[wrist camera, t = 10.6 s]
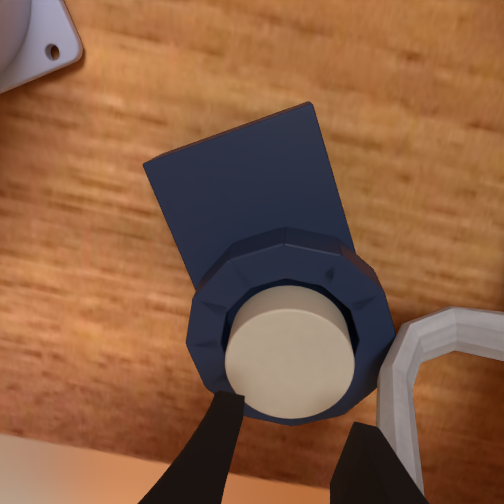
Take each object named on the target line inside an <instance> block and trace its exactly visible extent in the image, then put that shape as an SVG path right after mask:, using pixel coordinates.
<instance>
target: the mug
mask: <svg viewBox="0 0 504 504" xmlns="http://www.w3.org/2000/svg"><path fill="white" fill-rule="evenodd" d="M454 350H455V351H460V352H464V353H469V354H473V355H478V356H482V357H487V358H491V359H496V360H500V361H504V312H501V311H492V310H483V309H475V308H466V307H458V306H447V307H444V308H442V309H439V310H437V311H434V312H431V313H429V314H426V315H423V316H421V317H418V318H416V319H413V320H410V321H408V322H405V323H402V325H401V327H400V329H399V331H398V333H397V336H396V338H395V340H394V342H393V344H392V346H391V348H390V350H389V352H388V354H387V356H386V358H385V360H384V362H383V364H382V366H381V368H380V372H379V376H378V380H377V411H376V427H379V429H380V430H381V432H382V433H383V435H384V436H385V438H386V439H387V441H388V442H389V444H390V445H391V447H392V448H393V450H394V452H395V453H396V455H397V456H398V458H399V459H400V461H401V462H402V464H403V465H404V467H405V468H406V470H407V471H408V473H409V475H410V476H411V478H412V479H413V481H414V482H415V484H416V485H417V486H418V488H419V489H420V491H421V492H422V494H423V495H424V488H423V479H422V471H421V463H420V454H419V446H418V437H417V428H416V419H415V410H414V401H413V391H412V389H413V386H414V383H415V379H416V376H417V373H418V370H419V367H420V364H421V363H422V362H425V361H428V360H430V359H433V358H436V357H438V356H441V355H444V354H446V353H449V352H452V351H454ZM424 497H425V496H424Z"/></svg>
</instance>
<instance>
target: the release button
mask: <svg viewBox="0 0 504 504" xmlns="http://www.w3.org/2000/svg"><path fill="white" fill-rule="evenodd" d="M354 368H355V360H354V354H353V350H352V345H351V341H350V337H349V333H348V329H347V325H346V322H345V319H344V317H343V315H342V314H341V312H340V310H339V309H338V308H337V307H336V305H335V304H334V303H333V302H331V301H330V300H329V299H328V298H326V297H325V296H324V295H322V294H320V293H318V292H316V291H314V290H311V289H308V288H304V287H300V286H277V287H273V288H269V289H266V290H263V291H261V292H259V293H257V294H256V295H254V296H253V297H251V298H250V299H249V300H247V301H246V302H245V303H244V304H243V305H242V307H241V308H240V309H239V311H238V312H237V314H236V316H235V318H234V321H233V324H232V328H231V332H230V336H229V340H228V345H227V349H226V354H225V369H226V374H227V377H228V380H229V382H230V384H231V386H232V388H233V389H234V391H235V392H236V394H239V395H244V396H245V403H246V404H248V405H249V406H251V407H252V408H254V409H255V410H257V411H259V412H261V413H264V414H267V415H270V416H274V417H279V418H288V419H295V418H304V417H309V416H313V415H316V414H318V413H321V412H323V411H325V410H327V409H329V408H330V407H331V406H333V405H334V404H336V403H337V402H338V401H339V400H340V399H341V398H342V396H343V395H344V394H345V393H346V391H347V389H348V388H349V386H350V384H351V381H352V379H353V375H354Z"/></svg>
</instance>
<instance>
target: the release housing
mask: <svg viewBox="0 0 504 504" xmlns="http://www.w3.org/2000/svg"><path fill="white" fill-rule="evenodd" d="M143 167H144V170H145V172H146V174H147V177H148V179H149V182H150V184H151V186H152V189H153V191H154V193H155V196H156V198H157V200H158V203H159V205H160V207H161V210H162V212H163V214H164V217H165V219H166V221H167V224H168V226H169V228H170V231H171V233H172V236H173V238H174V240H175V243H176V245H177V247H178V250H179V252H180V254H181V257H182V259H183V261H184V264H185V266H186V268H187V271H188V273H189V275H190V278H191V280H192V283H193V285H194V287H195V290H196V292H195V295H194V297H193V299H192V306H191V312H190V319H189V325H188V331H187V338H186V346H187V348H188V350H189V352H190V355H191V357H192V359H193V361H194V363H195V366H196V368H197V370H198V372H199V375H200V377H201V379H202V381H203V383H204V386H206V388H207V389H208V390H209V391H211V392H212V393H213V394H215V393H216V392H218V391H220V390H222V391H227V392H231V393H235V394H236V392H235V391H234V389H233V388H232V386H231V384H230V382H229V380H228V377H227V374H226V369H225V354H226V349H227V345H228V340H229V336H230V332H231V328H232V324H233V321H234V318H235V316H236V314H237V312H238V311H239V309H240V308H241V307H242V305H243V304H244V303H245V302H246V301H247V300H249V299H250V298H251V297H253V296H254V295H256V294H257V293H259V292H261V291H263V290H266V289H269V288H273V287H277V286H300V287H304V288H308V289H311V290H314V291H316V292H318V293H320V294H322V295H324V296H325V297H326V298H328V299H329V300H330V301H331V302H333V303H334V304H335V305H336V307H337V308H338V309H339V310H340V312H341V314H342V315H343V317H344V319H345V322H346V325H347V329H348V333H349V337H350V341H351V345H352V350H353V354H354V360H355V368H354V375H353V379H352V381H351V384H350V386H349V388H348V389H347V391H346V393H345V394H344V395H343V396H342V398H341V399H340V400H339V401H338V402H337V403H336V404H334V405H333V406H331V407H330V408H329V409H327V410H325V411H323V412H321V413H318V414H316V415H313V416H309V417H304V418H295V419H288V418H279V417H274V416H270V415H267V414H264V413H261V412H259V411H257V410H255V409H254V408H252V407H251V406H249V405H248V404H246V403H245V404H244V415H243V416H246V417H250V418H255V419H259V420H264V421H269V422H274V423H279V424H284V425H288V426H293V425H294V426H297V425H301V424H306V423H310V422H315V421H319V420H324V419H328V418H333V417H338V416H341V415H344V414H345V413H347V412H348V411H349V410H350V409H351V408H353V407H354V406H355V405H356V404H358V403H359V402H360V401H361V400H363V399H364V398H365V397H366V396H368V395H369V394H370V393H371V392H373V391H374V390H375V389H376V388H377V380H378V376H379V372H380V368H381V366H382V364H383V362H384V360H385V358H386V356H387V354H388V352H389V350H390V348H391V346H392V344H393V342H394V340H395V338H396V332H395V329H394V325H393V321H392V318H391V314H390V310H389V307H388V303H387V300H386V296H385V292H384V290H383V288H382V286H381V284H380V282H379V280H378V277H377V275H376V273H375V271H374V269H373V268H372V267H370V266H369V265H368V264H367V263H366V262H365V261H364V260H362V259H361V258H360V257H359V256H358V255H357V254H356V252H355V248H354V245H353V241H352V238H351V234H350V231H349V228H348V224H347V221H346V217H345V214H344V210H343V207H342V203H341V200H340V196H339V193H338V189H337V186H336V183H335V179H334V176H333V172H332V169H331V165H330V162H329V158H328V155H327V151H326V148H325V144H324V141H323V138H322V134H321V131H320V127H319V124H318V120H317V117H316V113H315V110H314V106H313V104H312V103H311V102H309V101H308V102H305V103H302V104H299V105H297V106H294V107H291V108H288V109H286V110H283V111H280V112H277V113H274V114H272V115H269V116H266V117H263V118H261V119H258V120H255V121H252V122H249V123H247V124H244V125H241V126H238V127H236V128H233V129H230V130H227V131H224V132H222V133H219V134H216V135H213V136H211V137H208V138H205V139H202V140H199V141H197V142H194V143H191V144H188V145H186V146H183V147H180V148H177V149H174V150H172V151H169V152H166V153H163V154H161V155H159V156H157V157H155V158H153V159H151V160H149V161H147V162H145V163H143Z"/></svg>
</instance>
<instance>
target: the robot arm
mask: <svg viewBox="0 0 504 504" xmlns="http://www.w3.org/2000/svg"><path fill="white" fill-rule="evenodd" d="M54 45H55V46H57V48H58V49H59V52H60V55H59V58H58V59H57V60H54V59H53V57H52V56H51V48H52V47H53V46H54ZM82 54H83V47H82V43H81V40H80V38H79V36H78V33H77V31H76V29H75V26H74V24H73V22H72V19H71V17H70V15H69V13H68V10H67V8H66V6H65V3H64V1H63V0H0V94H1V93H4V92H6V91H8V90H11V89H13V88H16V87H18V86H20V85H23V84H25V83H28V82H30V81H32V80H35V79H37V78H39V77H42V76H44V75H47V74H49V73H51V72H54V71H56V70H59V69H61V68H63V67H66V66H68V65H70V64H73V63H75V62H77V61H78V60H80V58H81V56H82ZM244 404H245V396H244V395H239V394H235V393H231V392H227V391H222V390H220V391H218V392H216V393H215V395H214V398H213V401H212V403H211V405H210V407H209V409H208V411H207V413H206V415H205V416H204V418H203V420H202V421H201V423H200V425H199V426H198V428H197V429H196V431H195V432H194V434H193V435H192V437H191V438H190V440H189V441H188V443H187V444H186V445H185V447H184V448H183V450H182V451H181V453H180V454H179V455H178V456H177V458H176V459H175V460H174V461H173V463H172V464H171V465H170V466H169V468H168V469H167V470H166V472H165V473H164V474H163V475H162V477H161V478H160V479H159V480H158V481H157V483H156V484H155V485H154V486H153V487H152V488H151V489H150V491H149V492H148V493H147V494H146V495H145V496H144V497H143V498H142V500H141V501H140V502H139V503H138V504H221V501H222V496H223V492H224V487H225V483H226V479H227V475H228V472H229V468H230V464H231V461H232V457H233V453H234V450H235V446H236V442H237V438H238V435H239V431H240V427H241V424H242V420H243V415H244ZM330 504H429V503H428V501H427V500H426V498H425V497H424V495H423V494H422V492H421V491H420V489H419V488H418V486H417V485H416V484H415V482H414V481H413V479H412V478H411V476H410V475H409V473H408V471H407V470H406V468H405V467H404V465H403V464H402V462H401V461H400V459H399V458H398V456H397V455H396V453H395V452H394V450H393V448H392V447H391V445H390V444H389V442H388V441H387V439H386V438H385V436H384V435H383V433H382V432H381V430H380V429H379V427H375V426H371V425H367V424H363V423H358V422H354V423H353V425H352V428H351V430H350V433H349V436H348V438H347V441H346V443H345V446H344V448H343V451H342V453H341V456H340V459H339V461H338V464H337V466H336V469H335V471H334V474H333V477H332V479H331V482H330Z"/></svg>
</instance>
